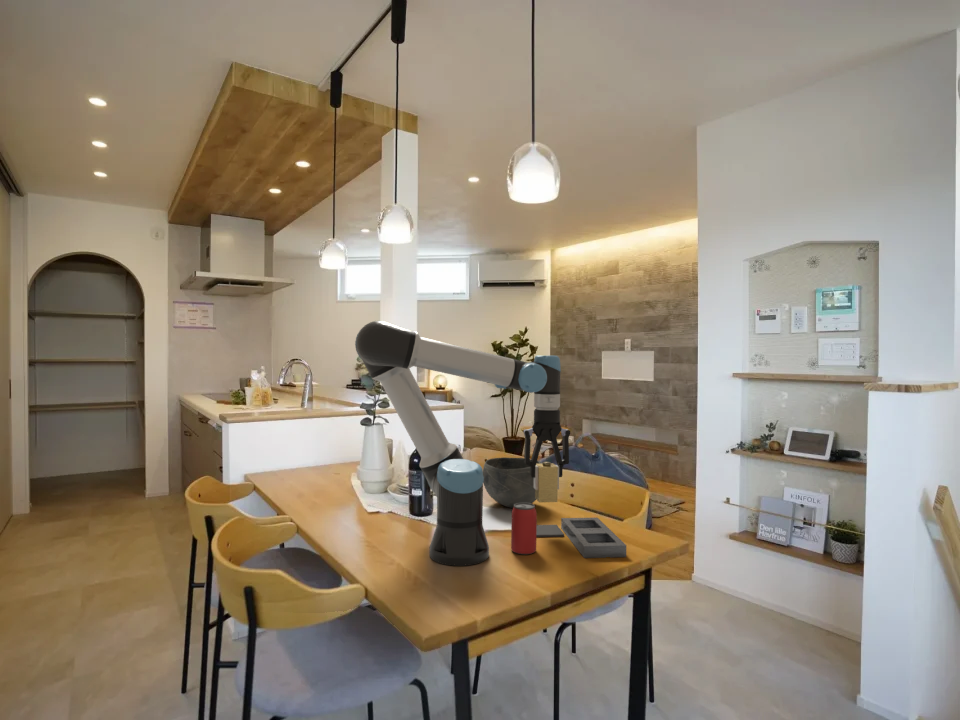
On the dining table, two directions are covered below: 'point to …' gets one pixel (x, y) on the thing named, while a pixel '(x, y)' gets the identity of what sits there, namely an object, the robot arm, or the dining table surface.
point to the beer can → (523, 528)
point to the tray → (593, 538)
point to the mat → (548, 531)
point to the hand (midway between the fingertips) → (546, 488)
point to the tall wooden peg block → (547, 482)
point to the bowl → (509, 481)
